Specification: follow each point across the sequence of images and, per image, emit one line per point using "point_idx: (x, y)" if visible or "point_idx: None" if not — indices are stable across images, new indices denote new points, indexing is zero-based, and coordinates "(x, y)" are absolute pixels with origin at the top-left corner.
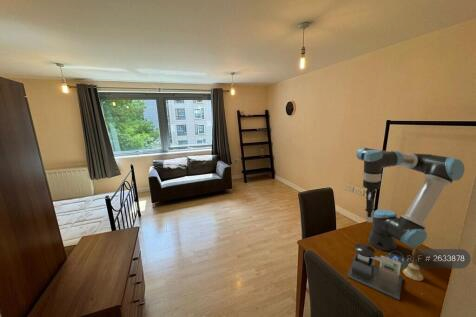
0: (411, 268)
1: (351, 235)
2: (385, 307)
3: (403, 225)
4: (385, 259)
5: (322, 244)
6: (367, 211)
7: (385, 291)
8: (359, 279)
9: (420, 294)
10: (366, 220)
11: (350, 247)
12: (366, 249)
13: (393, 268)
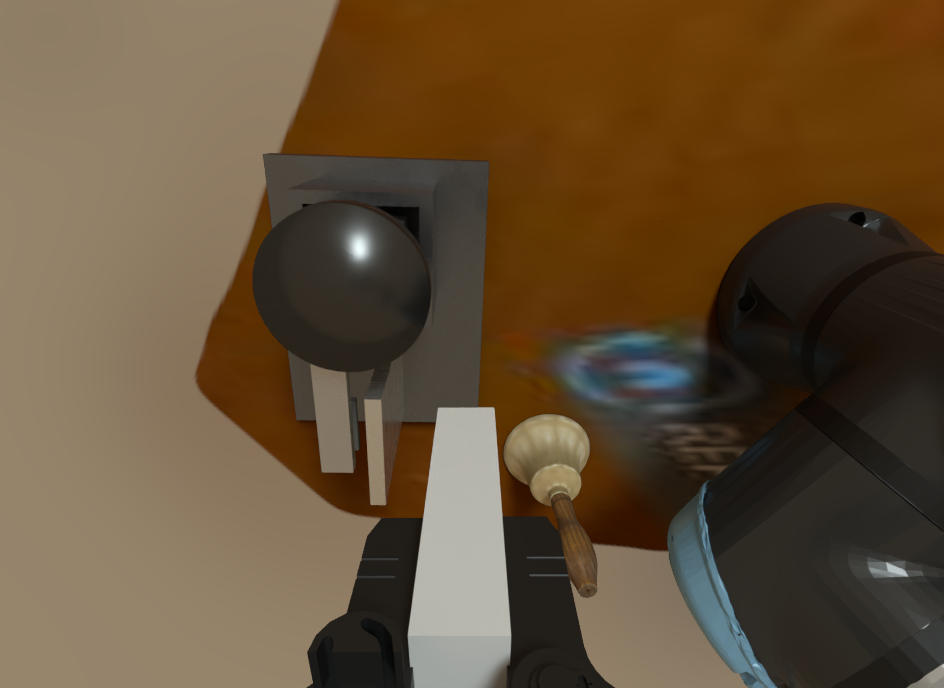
0: (533, 473)
1: (856, 58)
2: (202, 367)
3: (813, 608)
4: (350, 427)
5: None
6: (415, 621)
7: (290, 365)
8: None
9: (412, 475)
10: (438, 424)
11: (645, 95)
12: (343, 308)
13: (355, 445)
